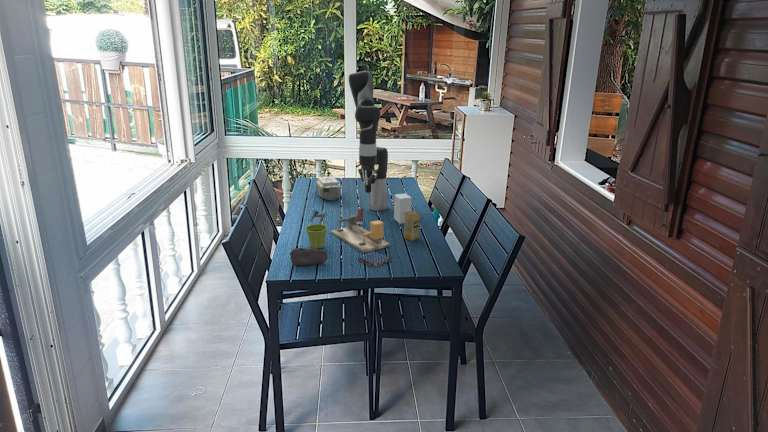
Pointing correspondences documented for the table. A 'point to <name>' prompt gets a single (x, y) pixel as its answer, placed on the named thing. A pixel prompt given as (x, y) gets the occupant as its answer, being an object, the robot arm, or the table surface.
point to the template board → (358, 236)
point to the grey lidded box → (328, 188)
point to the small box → (401, 206)
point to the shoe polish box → (411, 225)
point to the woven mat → (374, 258)
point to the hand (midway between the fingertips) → (368, 192)
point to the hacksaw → (317, 215)
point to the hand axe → (359, 218)
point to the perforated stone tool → (307, 256)
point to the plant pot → (316, 235)
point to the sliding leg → (375, 230)
